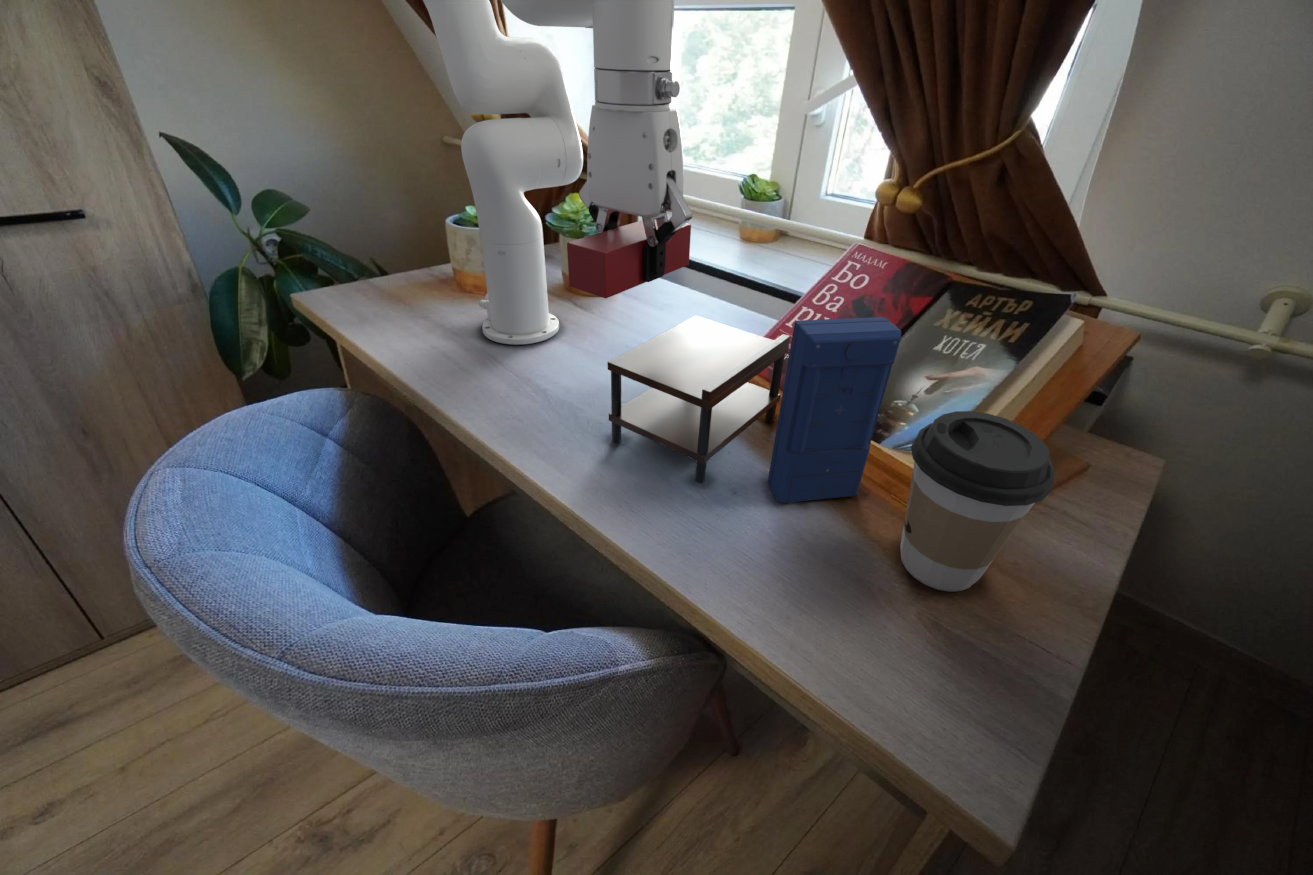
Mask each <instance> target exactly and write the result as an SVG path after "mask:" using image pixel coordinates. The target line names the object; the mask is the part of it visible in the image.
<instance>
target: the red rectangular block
mask: <svg viewBox="0 0 1313 875" xmlns="http://www.w3.org/2000/svg"><path fill="white" fill-rule="evenodd" d="M669 219H670V218H668V220H669ZM655 224H656V229H658V226H657V221H656V219H655ZM691 234H692V224H691V223H688V222H687V223H686V224H685V225H684V226H682V227H681V228H680V229H679V230H678V231H677V232H676V233H675V234H674V235H673V236H672V237H671V240H670V241H668V242H666V259H665V270H664V275H663V276H665V275H668V274H670V273H673V272H676V271H677V270H679V269H682V268H685V267H686V266H689V265H690V253H691V252H690V251H691ZM647 244H648V242H647V238H646V233H645V229H644V225H643V220H642V219H641V220H638V221H635V222H632V223H628V224H625V225H621V226H619V227H618V228H614V229H611V230H608V231H604V232H601V233H598V232H597V233H594V234H591V235H588V236H584V237H581V238H577V239H574V240H570V241H567V242H566V252H567V253H566V254H567V269H568V270H567V271H568V285H569V286H568V287H570V288H573V289H576V290H579V291H581V292H585V293H587V294H590V295H594V296H597V297H600V298H603V299H609V298H610V297H611V298H612V297H613V296H616V295H618V294H621V293H623V292H625V291H628V290H631V289H633V288H635V287H638V286H640V285H643V284H645V283H647V282H646V281H644V280H643V246H644V245H647Z"/></svg>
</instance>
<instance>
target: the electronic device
mask: <svg viewBox="0 0 1313 875" xmlns="http://www.w3.org/2000/svg"><path fill="white" fill-rule="evenodd" d="M901 338H902V330H901V329H900V328H898V327H897V326H896V325H895V324H894V323H893V322H891V321H890V320H889V319H888V318H886V317H885V316H874V317H851V318H828V319H827V318H826V319H805V320H804V319H803V320H801V319H800V320H795V321H794V324H793V330H792V336H791V340H790V342H791V343H790V346H789V352H788V353H789V354H788V360H787V366H786V371H785V377H784V383H783V390H782V394H781V399H780V407H779V413H778V418H777V422H776V423H777V425H776V430H775V434H774V435H775V436H774V440H773V441H774V442H773V448H772V454H771V459H770V464H769V471H768V477H767V484H768V487H769V488H770V490H771V492H772V494H773V496H774V498H775V500H776V501H777V502H781V503H794V502H803V501H805V502H807V501H815V500H826V499H828V500H829V499H836V498H838V499H839V498H847V497H848V498H849V497H857V495H858V492H859V490H860V486H861V483H862V482H861V481H862V479H863V475H864V472H865V469H866V464H867V461H868V457H869V454H870V449H871V442H872V440H873V439H872V438H873V436H874V432H875V428H876V425H877V421H878V417H879V414H880V410H881V407H882V404H883V400H884V396H885V393H886V389H887V385H888V382H889V379H890V375H891V371H892V368H893V365H894V364H895V361H896V357H897V354H898V351H899V347H900V343H901Z"/></svg>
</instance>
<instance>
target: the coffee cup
mask: <svg viewBox="0 0 1313 875" xmlns="http://www.w3.org/2000/svg"><path fill="white" fill-rule="evenodd" d="M910 450H911V455H912V460H913V462H914V463H913V468H912V473H911V480H910V486H909V490H908V491H909V492H908V498H907V502H906V503H907V504H906V510H905V517H904V522H903V526H902V532H901V539H900V546H899V547H900V548H899V549H900V558H901V564H902V565H903V566H904V569H905V570H906V571H907V572H908V574H910V575H911V576H912V578H914V579H916V580H917V581H918V582H920V583H922V584H923V585H925V586H927V587H930V588H933V589H935V590H938V591H944V592H949V593H951V592H962V591H965V590H967V589H970V588H971V587H972V586H974V584H976V583H977V582H978V581H979V580H980V579H981V578H982V576H983V575H984V574H985V572H986V571H987V570H988V568H989V567H990V565H991V564H992V563H993V562H994V560H995V558H996V557H997V556H998V554H999V553H1000V552H1001V550H1002V549H1003V547H1004V546H1005V545H1006V543H1007V542H1008V541H1009V539H1010V538H1011V536H1012V535H1013V534H1014V532H1016V530H1017V528H1018V527H1019V525H1020V524H1021V522H1023V520H1024V518H1025V517H1026V516H1027V515H1028V513H1029V512H1030V510H1031V509H1032V507H1034V505H1035V504H1036V503H1038V502H1042V501H1044V500H1045V499H1046V498H1047V497H1048V496H1049V495H1050V494H1051V493H1052V489H1053V484H1054V483H1055V473H1056V470H1055V468H1054V466H1053V464H1052V462H1051V460H1050V459H1051V452H1050V451H1049V449H1048V447H1047V444H1046V443H1045V442H1044V441H1043V440H1042V439H1041V438H1040V437H1039V436H1038V435H1036V433H1035V432H1033V431H1031V430H1030V429H1028V428H1027V427H1025V426H1023V425H1021V424H1020V423H1017V422H1015V421H1013V420H1011V419H1008V418H1005V417H1003V416H998V415H994V414H991V413H988V412H979V411H973V410H957V411H952V412H948V413H943V414H942V415H941V414H940V415H939V416H938V417H936V418H934V420H933V421H932V422H930V423H929V424H927V425H925V426H923V427H922V428H921V429H920V430H919V431H918V433H917V435H916V437H915V438H914V440H913V442H912V444H911V446H910Z"/></svg>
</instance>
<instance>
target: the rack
mask: <svg viewBox="0 0 1313 875" xmlns="http://www.w3.org/2000/svg"><path fill="white" fill-rule="evenodd" d="M790 342H791V336H790V335H788V334H784V333H782V334H781V335H780V336H779V337H777V338H776V339H772V338H767V337H765V336H761V335H758V334H755V333H752V332H749V331H746V330H743V329H740V328H737V327H734V326H730V325H727V324H723V323H721V322H717V321H714V320H711V319H708V318H704V317H702V316H699V315H694V316H692V317H690V318H688V319H686V320H685V321H683V322H682V321H681V323H679V324H676V325H675V326H673V327H671V328H669V329H667V330H665V331H663V332H662V333H660V334H658V335H656V336H654V337H651V338H650V339H649V340H647V341H645V342H643V343H641V344H639V345H637V346H635V347H633V348H632V349H629V350H627V351H626V352H624V353H622V354H620V355H618V356H616V357H614V358H612V359H610V360H608V361H607V370H608V371H610V406H611V407H610V408H611V409H610V410H611V411H610V412H609V413H608V421H609V422H611V441H612V443H615V444H618V443H621V442H622V428H624V429H626V430H628V431H631V432H632V433H635V434H637V435H639V436H641V437H644V438H646V439H648V440H650V441H652V442H654V443H656V444H659V445H662V446H664V447H665V448H667V449H670V450H672V451H674V452H677V453H679V454H681V455H683V456H685V457H688V458H689V459H692V460H693V461H695V471H694V472H695V474H694V481H695V482H696V483H698V484H703V483H705V481H706V477H707V467H708V461H709V460H710V459H712V458H713V457H714V456H716V454H717V453H719V452H720V451H721V450H723V449H724V448H725V447H726V446H727V445H728V444H730V443H731V442H732V441H733V440H734V439H736V438H737V437H738V436H739V435H740V434H741V433H743V432H744V431H745V430H746V429H748V428H749V427H750V426H751V425H752V424H754V423H755V422H756V421H757V420H759V418H761V417H762V416H763V415H765V416H764V421H765V422H766V423H769V424H771V423H774V422H775V417H776V413H777V412H776V411H777V405H778V403H779V402H781V397H782V394H781V393H779V392H780V387H781V381H782V376H783V375H782V374H783V369H784V363H785V356H786V354H788V353H789V349H790ZM771 365H773V366H772V372H771V378H770V385H769V389H767V388H765V387H762V386H760V385H756V384H755V383H754V384H753V383H751V382H749V381H751V380H752V379H754V378H756V376H758V375H759V374H760V373H762V372H763V371H764V370H766V369H768V368H769V367H770V366H771ZM622 376H623V377H625V378H628V379H630V380H632V381H635V382H637V383H640V384H641V385H645V386H646V387H650V388H648V389H646V390H645V391H643V392H641V393H640V394H638V395H637V396H635V397H633V398H631V399H630V400H628V401H627V402H625V403H623V404H622Z"/></svg>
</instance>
